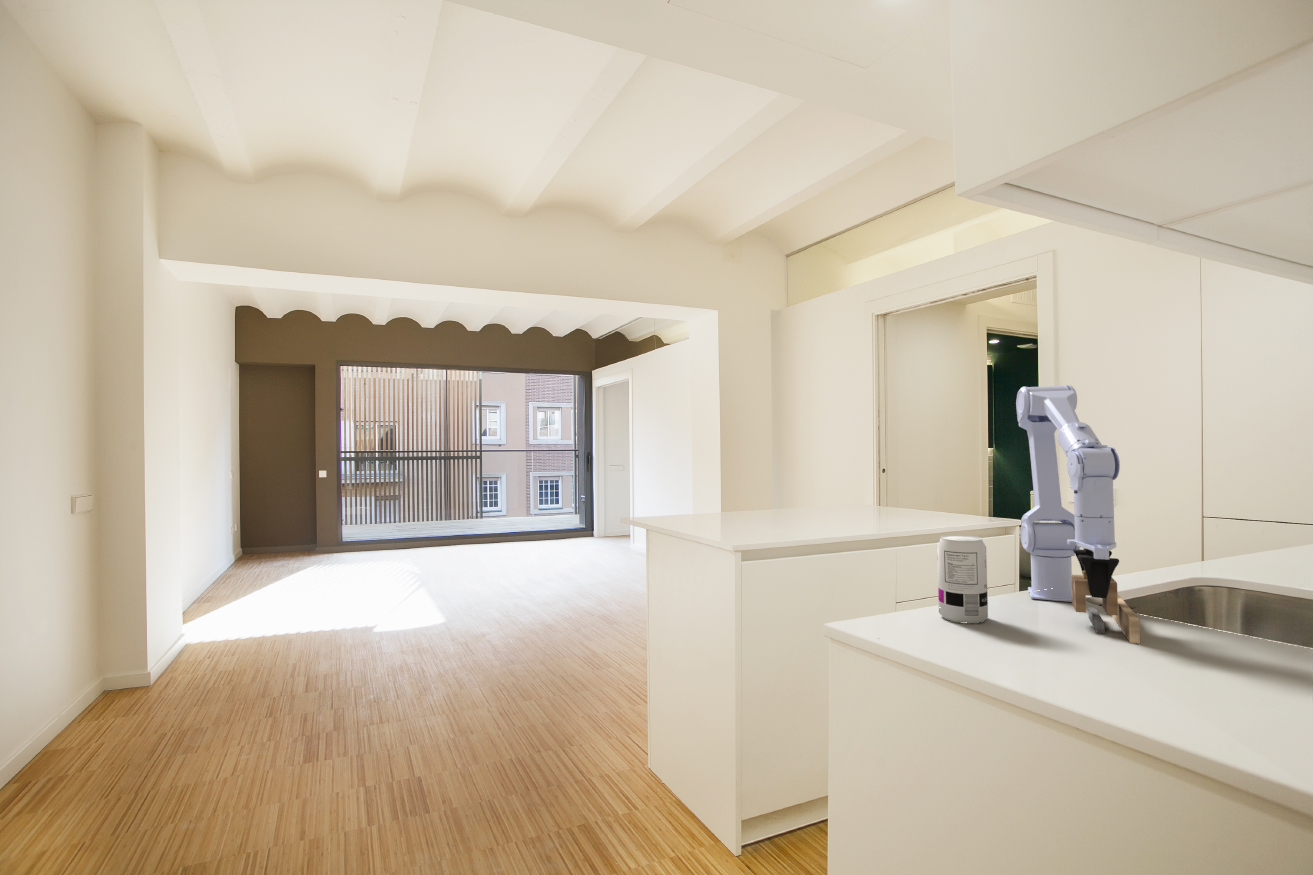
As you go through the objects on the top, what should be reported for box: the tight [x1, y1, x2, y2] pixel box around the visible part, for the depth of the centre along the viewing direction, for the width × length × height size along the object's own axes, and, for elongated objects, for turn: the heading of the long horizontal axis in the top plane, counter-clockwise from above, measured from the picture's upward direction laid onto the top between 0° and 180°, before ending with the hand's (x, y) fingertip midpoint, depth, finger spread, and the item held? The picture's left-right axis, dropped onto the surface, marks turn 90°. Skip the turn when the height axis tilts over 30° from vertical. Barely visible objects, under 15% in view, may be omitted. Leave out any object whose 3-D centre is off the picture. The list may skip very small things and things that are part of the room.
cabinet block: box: [1071, 571, 1119, 616], centre depth 110 cm, size 5×6×7 cm
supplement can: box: [936, 534, 989, 624], centre depth 117 cm, size 8×8×15 cm
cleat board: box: [1087, 593, 1141, 645], centre depth 110 cm, size 18×5×4 cm, turn 152°
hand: (1096, 593), depth 110 cm, fingers closed on cabinet block, 5 cm apart
